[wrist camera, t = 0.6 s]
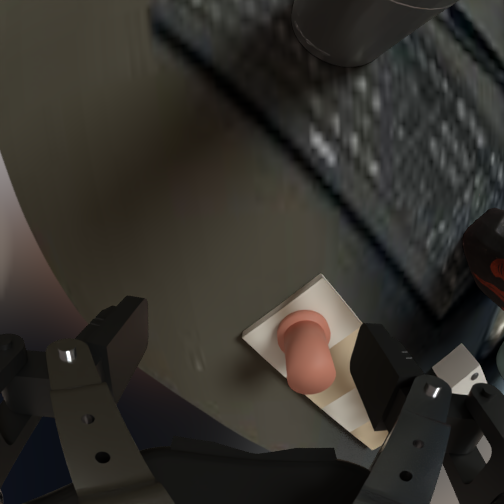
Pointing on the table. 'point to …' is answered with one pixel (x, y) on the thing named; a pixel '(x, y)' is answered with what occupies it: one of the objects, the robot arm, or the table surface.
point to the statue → (487, 254)
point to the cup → (500, 360)
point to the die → (460, 370)
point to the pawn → (306, 351)
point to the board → (341, 347)
